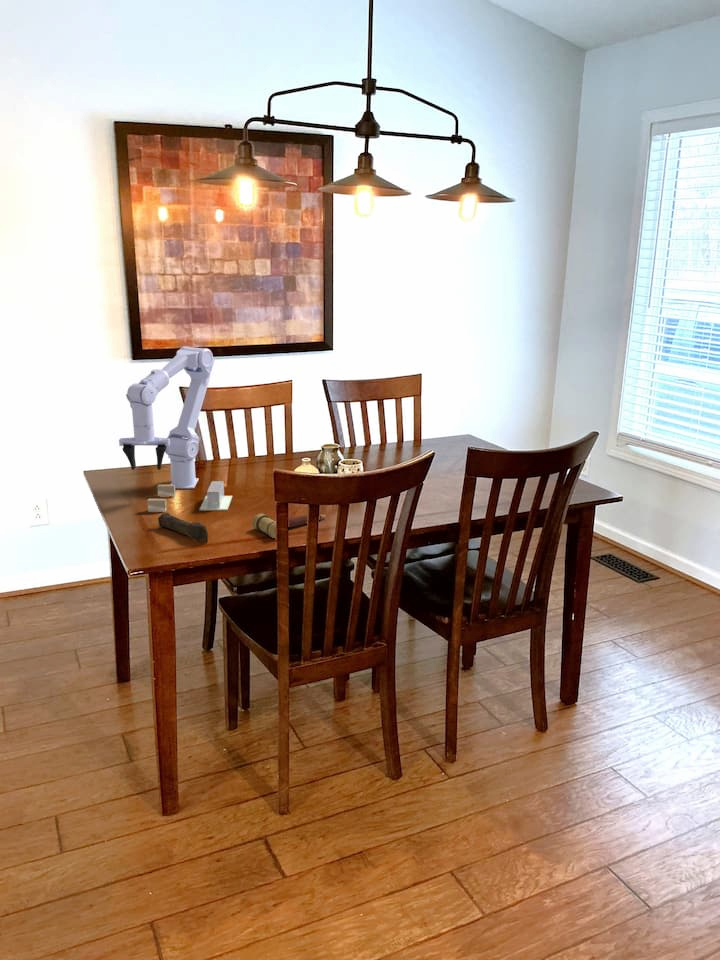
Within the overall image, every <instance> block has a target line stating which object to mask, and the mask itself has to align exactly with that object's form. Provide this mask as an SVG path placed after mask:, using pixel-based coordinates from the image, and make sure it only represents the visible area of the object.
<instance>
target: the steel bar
mask: <svg viewBox="0 0 720 960" xmlns="http://www.w3.org/2000/svg"><path fill="white" fill-rule="evenodd" d="M224 486H225V484H224V480H223V481H222V480H218V481H217V480H212V481H211V482H210V485H209V487H208V489H207V491H206V496H207V502H208V508H220V506H221V504H222V501H223V499H224V496H225V487H224Z"/></svg>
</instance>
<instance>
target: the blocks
mask: <svg viewBox="0 0 720 960" xmlns="http://www.w3.org/2000/svg"><path fill="white" fill-rule="evenodd" d="M175 495H176V488H175V485H170V484H158V485H157V497H158V496H160V497H159V498H148V499H147V501H146V502H147V512H148V513H160V512H161V513H167V511H168V510H167V509H168V507H167V499H166V498H162V497H161V496H172V497H171V498H175V497H176V496H177V495H176V496H175ZM166 510H167V511H166Z"/></svg>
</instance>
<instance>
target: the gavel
mask: <svg viewBox="0 0 720 960" xmlns="http://www.w3.org/2000/svg"><path fill="white" fill-rule="evenodd" d="M307 515H308V514H304V515H300V516H295V517H290V518H289V528H294V527H299V526H305V525H307V524H306V522H307ZM325 518H326V514H320V521H322V520H323V519H325ZM276 521H277V520H276ZM276 521H275V520H273V519H272V518H270V517H269V516H268V515H266V514H264V513H258V514H256V515H255V516H254V517H253V519H252V526H253V529H255V530H257V531H259V530H260V532H263V533H264V534H267V535H268V536H269V537H270V538H271V537H272V539H273V538H275V539H274V540H277V539H276ZM304 524H305V525H304Z"/></svg>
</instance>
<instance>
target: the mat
mask: <svg viewBox="0 0 720 960" xmlns="http://www.w3.org/2000/svg"><path fill="white" fill-rule="evenodd" d="M232 498H233V495H224V499H223V501H222V504H221V506H220V508H208V502H207V495H205V497H204V499H203V501H202V503H201V506H200V507H199V511H228V510H229V507H230V504H231V502H232V500H233V499H232Z"/></svg>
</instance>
